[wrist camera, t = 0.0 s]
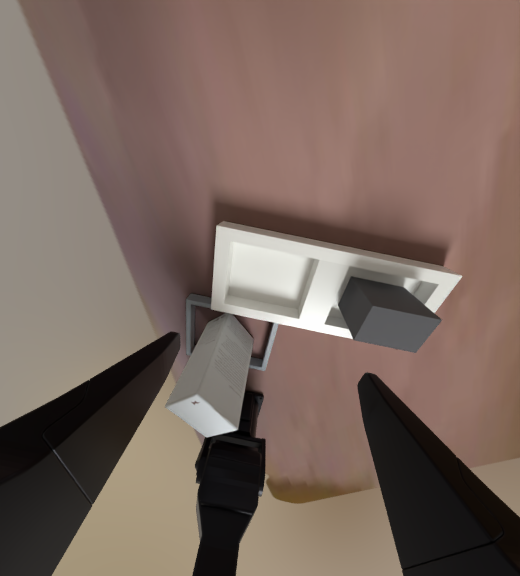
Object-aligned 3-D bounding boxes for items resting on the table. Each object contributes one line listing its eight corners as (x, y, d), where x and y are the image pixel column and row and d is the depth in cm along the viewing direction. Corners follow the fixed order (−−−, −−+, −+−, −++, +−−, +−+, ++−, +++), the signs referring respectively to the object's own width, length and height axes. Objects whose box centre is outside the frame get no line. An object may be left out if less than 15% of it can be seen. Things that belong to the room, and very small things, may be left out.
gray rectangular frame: (265, 362, 31) (264, 370, 29) (190, 347, 31) (186, 354, 29) (280, 311, 26) (280, 318, 24) (190, 293, 26) (185, 299, 24)
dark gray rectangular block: (386, 315, 24) (415, 352, 19) (337, 305, 24) (353, 340, 19) (403, 287, 22) (442, 319, 17) (351, 276, 22) (372, 305, 17)
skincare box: (207, 321, 28) (161, 406, 17) (230, 309, 26) (196, 393, 16) (232, 349, 30) (205, 439, 19) (255, 339, 29) (239, 431, 18)
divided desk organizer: (395, 335, 26) (406, 349, 24) (216, 298, 26) (210, 309, 24) (443, 266, 21) (462, 276, 19) (223, 221, 21) (216, 225, 19)
